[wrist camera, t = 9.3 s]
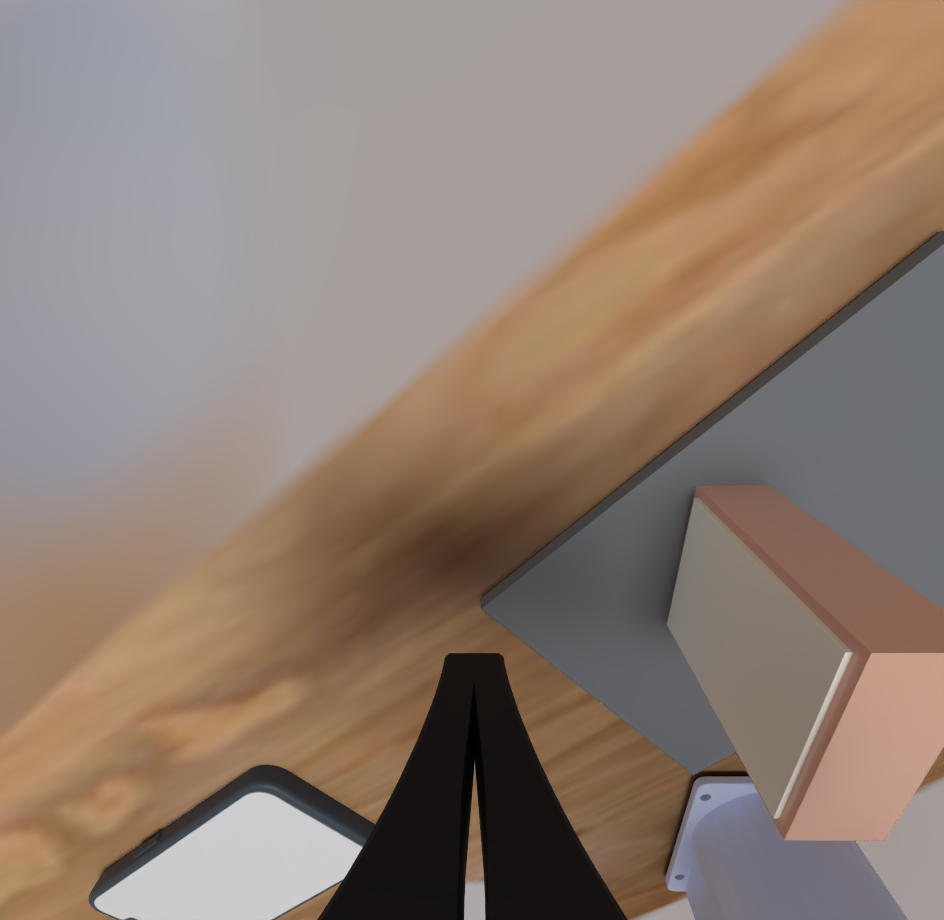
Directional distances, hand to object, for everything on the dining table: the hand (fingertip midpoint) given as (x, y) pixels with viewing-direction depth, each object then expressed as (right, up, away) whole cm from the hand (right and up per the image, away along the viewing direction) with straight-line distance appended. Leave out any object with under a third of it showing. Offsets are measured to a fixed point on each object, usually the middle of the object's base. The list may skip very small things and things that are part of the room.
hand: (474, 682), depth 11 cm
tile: (+9, +2, +5) cm, 10 cm away
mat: (+12, +1, +6) cm, 13 cm away
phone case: (-13, -16, +14) cm, 25 cm away
